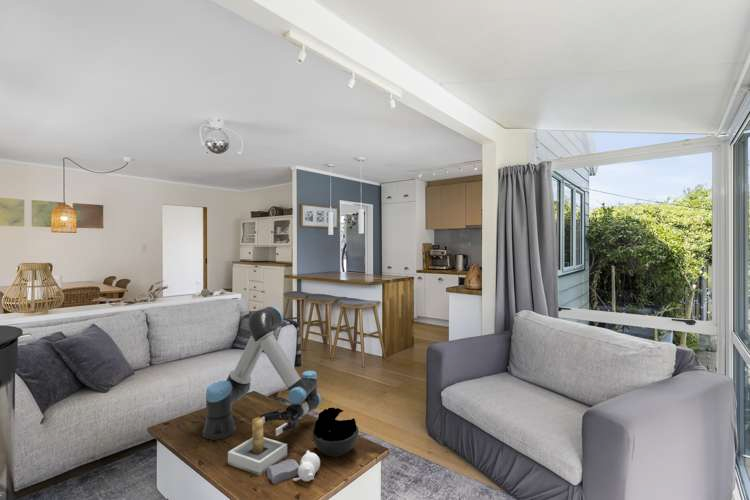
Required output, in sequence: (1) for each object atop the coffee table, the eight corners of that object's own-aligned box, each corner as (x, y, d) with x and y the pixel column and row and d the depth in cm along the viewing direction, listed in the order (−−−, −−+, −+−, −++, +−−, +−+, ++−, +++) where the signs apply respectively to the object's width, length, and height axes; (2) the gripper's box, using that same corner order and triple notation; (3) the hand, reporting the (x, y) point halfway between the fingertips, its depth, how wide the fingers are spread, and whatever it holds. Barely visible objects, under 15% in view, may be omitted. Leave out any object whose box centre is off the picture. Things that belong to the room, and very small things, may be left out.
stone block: (264, 478, 147) (273, 486, 139) (264, 465, 148) (272, 472, 140) (293, 469, 154) (302, 476, 146) (292, 456, 155) (302, 462, 147)
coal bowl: (336, 437, 175) (335, 397, 175) (368, 451, 162) (367, 408, 163) (303, 455, 160) (302, 412, 160) (335, 472, 147) (335, 425, 147)
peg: (250, 458, 156) (250, 420, 156) (258, 453, 160) (257, 416, 160) (258, 461, 154) (257, 422, 154) (265, 456, 158) (265, 418, 158)
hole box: (228, 463, 154) (227, 451, 154) (256, 445, 168) (256, 434, 168) (259, 475, 146) (259, 462, 146) (287, 455, 160) (287, 444, 160)
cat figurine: (306, 461, 139) (314, 443, 151) (284, 475, 140) (293, 456, 151) (319, 481, 138) (326, 461, 150) (296, 495, 139) (305, 474, 151)
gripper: (317, 423, 173) (286, 444, 154) (277, 412, 185) (244, 431, 166) (317, 407, 173) (286, 426, 154) (277, 397, 185) (244, 414, 166)
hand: (264, 429), depth 160 cm, fingers open, 13 cm apart
